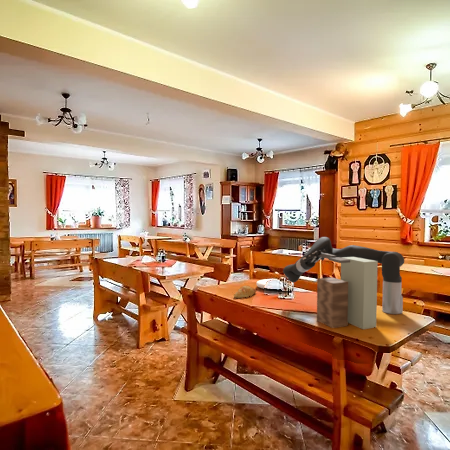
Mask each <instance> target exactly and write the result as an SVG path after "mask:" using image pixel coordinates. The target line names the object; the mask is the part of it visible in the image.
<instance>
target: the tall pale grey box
mask: <svg viewBox="0 0 450 450" xmlns="http://www.w3.org/2000/svg"><path fill="white" fill-rule="evenodd" d="M342 258H344V259H348V260H350V263H340V280H343V281H346V282H348V324H351V326H355V327H357V328H359V329H361V330H367V329H368V330H369V329H373V328H374V327H375V328H377V310H378V309H377V307H378V306H377V305H378V304H377V303H378V301H377V300H378V264H379V263H378V261H374V260H368V259H363V258H357V257H342Z"/></svg>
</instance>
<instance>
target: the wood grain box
mask: <svg viewBox="0 0 450 450" xmlns="http://www.w3.org/2000/svg"><path fill="white" fill-rule="evenodd" d="M316 281H317V284H316V285H317V286H316V287H317V289H316V293H317V295H316V298H317V299H316V322H319V323H321V324H323V325H325V326H327V327H329V328H331V329H336V328H341V327H348V324H349V323H348V282H346V281H343V280H341V279H340V278H336V277H332V276H331V277H322V278H320V277H319V278H317V280H316Z"/></svg>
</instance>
